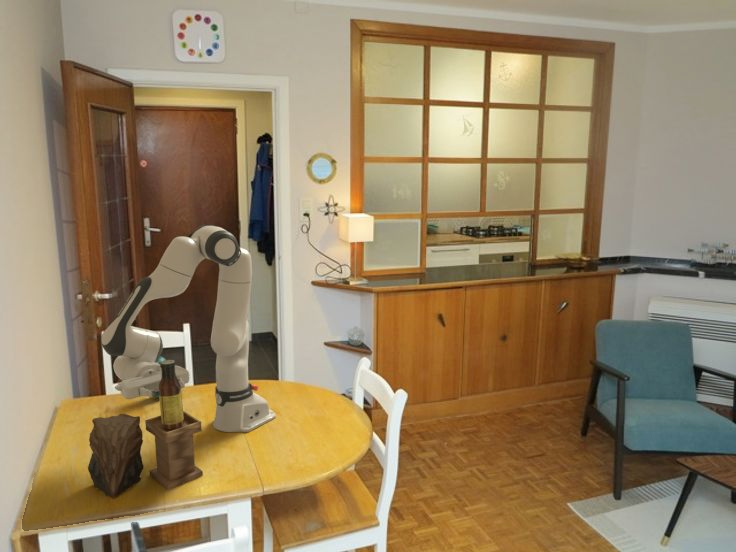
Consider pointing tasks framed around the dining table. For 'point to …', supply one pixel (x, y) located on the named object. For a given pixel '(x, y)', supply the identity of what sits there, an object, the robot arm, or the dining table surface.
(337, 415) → the dining table surface
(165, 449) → the display stand
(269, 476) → the dining table surface
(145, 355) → the robot arm
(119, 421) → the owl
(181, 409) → the sauce bottle
